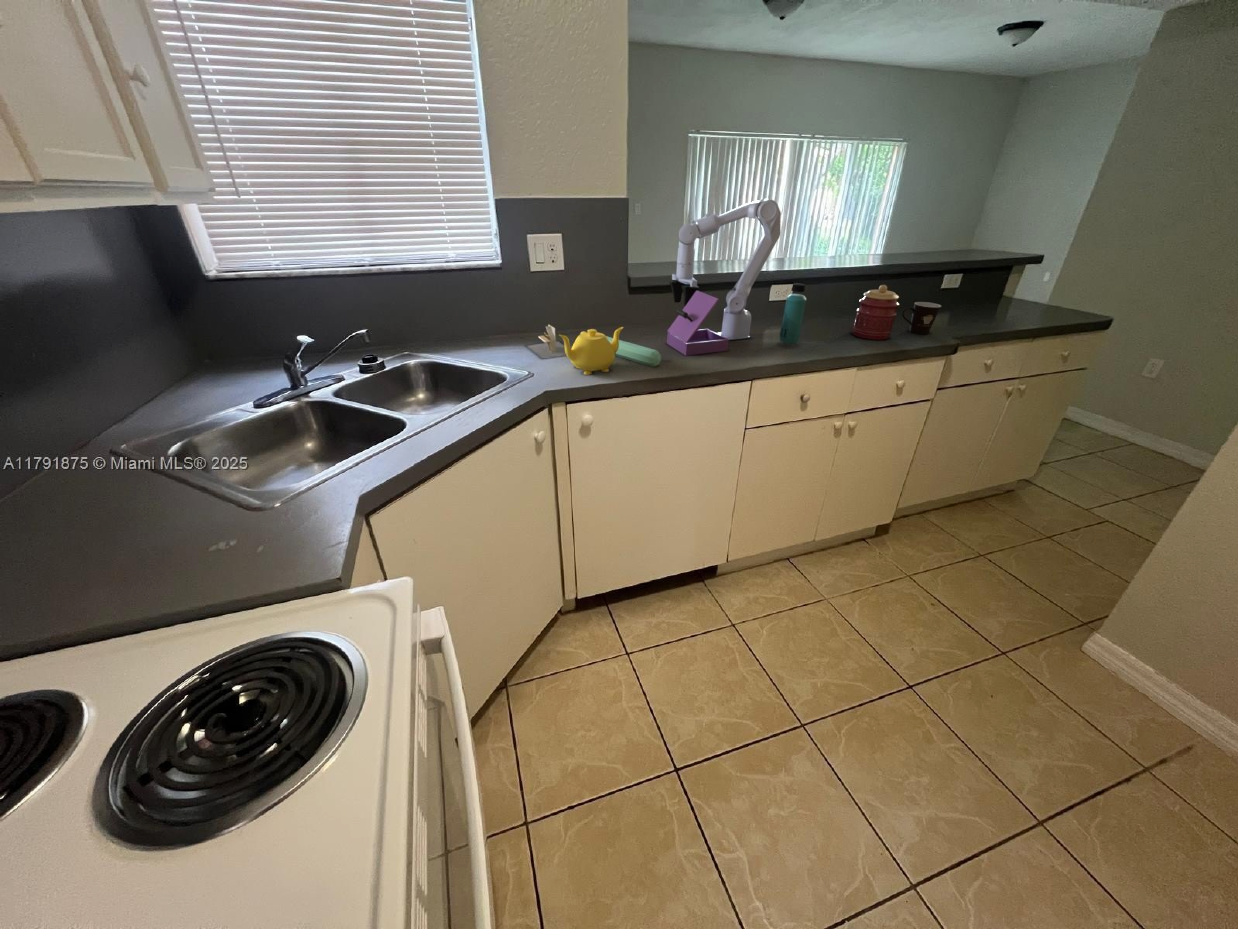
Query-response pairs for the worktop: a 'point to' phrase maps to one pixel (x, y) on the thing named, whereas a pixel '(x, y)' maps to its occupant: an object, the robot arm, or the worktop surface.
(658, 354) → the container
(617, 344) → the teapot
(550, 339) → the architectural model
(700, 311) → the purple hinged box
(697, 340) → the purple box base
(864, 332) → the kitchen canister
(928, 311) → the coffee mug
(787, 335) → the beverage bottle
